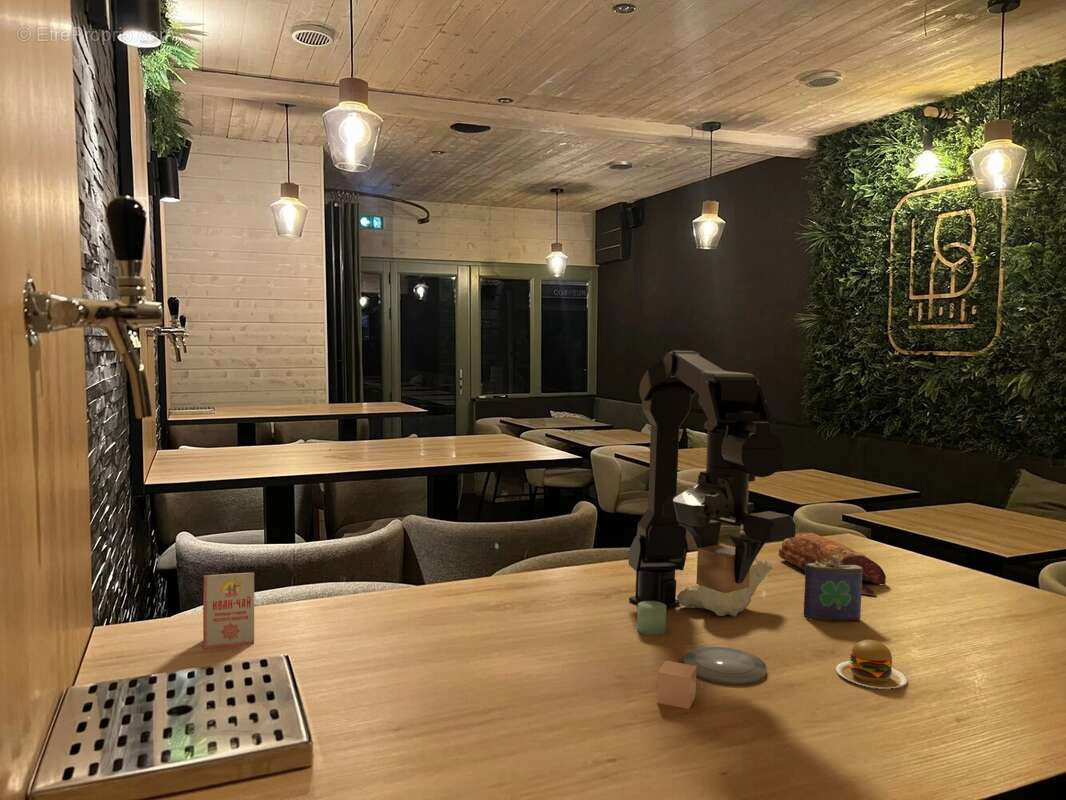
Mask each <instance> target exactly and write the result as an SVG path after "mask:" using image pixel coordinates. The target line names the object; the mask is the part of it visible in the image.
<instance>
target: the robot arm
mask: <svg viewBox="0 0 1066 800" xmlns="http://www.w3.org/2000/svg"><path fill="white" fill-rule="evenodd" d="M638 390H639V398H640V400H641V409H642V412H643V413H644V415H645V417H646V418H647V420H648V422H649V424H650V441H649V444H650V445H649V446H650V447H649V468H648V471H649V473H648V496H647V497H648V498H647V510H646V511H645V513H644V514H643V515H642V516H641V519H640V520H639V521H638V523H637V528H636V529H637V530H636V536H634V539H633V541H632V543H631V545H630V547H629V549H628V551H627V552H628V553H627V558H628V562H627V563H628V565H629V567H631V568H632V570H634V571H635V595H633V596H630V597H628V600H629V601H630V602H632V603H634V604H637V605H638V603H640V602H642V601H656V602H661V603H663V604H665V605H666V608H670V607H673V606H677V605H681V604H680V603H679V601H678V599H676V598H677V595H676V594H677V579H676V571H684V568H685V565H686V561H687V555H688V549H689V543H688V541H687V537H686V536H687V531H688V533H689V534H691V536H692V538H693V540H694V543H695V545H696V549H697V550H698V548H702V547H707V546H713V545H718V544H719V540H720V533H721V526H722V523H725V524H728V525H732V526H736V527H740V528H739V533H738V534H737V533H736V534H731V535H729V538H730V540H731V542H732V543H733V545H734V547H735V582H736V583H738V584H739V583H742V582H743V581H744V579H745V577H746V575H747V573H748V571H749V569H750V567H751V566H752V564H753V563H755V561H756V560H755V558H756V559H757V556H758V554H759V553H760V552H761V550H762V548H763V547H764V546H765V544H766V543H767V542H768V543H771V542H772V543H773V542H777V541H781V540H785V539H787V538H792V537H795V534H796V527H797V526H796V525H797V524H796V521H795V520H794V518H793V517H792V515H790V514H785V513H780V512H776V511H771V510H768V511H762V512H755V513H749V512H754V511H755V503H754V502H749V484H750V482H755V481H756V477H759V478H766V477H770V476H772V475H774V474H775V473H776V472H777V471H779V469H780V468H781V466H782V465H783V463H784V459H785V449H784V446H783V444H782V442H781V440H780V438H779V437H778V436H776V435H775V434H774V433H773V432H771V426H772V419H771V416H772V411H771V408H770V407H769V405H768V403H767V400H766V398H765V395H764V392H763V388H762V386H761V384H760V382H759V380H758V378H757V376H755V375H754V374H753V373H748V372H740V371H739V372H738V371H728V370H724V369H723V368H721V367H720V366H717V365H716V364H714V363H712V362H711V361H710V360H708V359H706V358H705V357H703V356H702V355H701V353H700V352H696V351H695V350H671V351H668V352H666V353H665V356H664V358H663V359H661V360H660V361H658V362H657V363H655V364H654V365H652V366H650V367H649V368H647V370H646V371H645V373H644V375H643V376H642V379H641V380H640V382H639V389H638ZM696 394H698V396H699V397H698V404H699V405H700V407H701V408H702V410H703V412H704V414H705V416H706V418H707V420H706V421H705V422H704V424H703V428H704V429H705V430H706V429H707V433H706V436H707V437H706V439H707V440H706V459H705V460H706V462H705V463H706V464H705V471H699V475H698V476H697V483H696V485H694V486H693V487H689V488H688V489H686V490H684V491H683V492H681V493H680V494H677V493H678V473H679V472H678V470H679V469H678V468H679V467H678V466H679V448H680V447H679V445H680V444H679V443H680V427H681V425H682V424H683V422H684V421H685V419H686V418H687V416H689V414H690V412H691V406H692V405H691V403H692V400H693V399H694V397H695V395H696Z"/></svg>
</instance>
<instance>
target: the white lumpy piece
mask: <svg viewBox="0 0 1066 800" xmlns="http://www.w3.org/2000/svg"><path fill="white" fill-rule="evenodd" d="M755 561H756V562H755ZM773 569H774V568H773V566H772V563H771V562H770V561H767V559H763V560H759V559H758V558H757V557H756V558H755V560H754V562H753V564H752V566H751V567H750V578H749V588H745V589H741V590H737V591H733V592H729V593H722V592H719V591H716V590H713V589H710V588H707V587H704V586H701V585H698V584H694V585H692V586H691V587H690V586H687V587H685V589H684V590H681V591H679V593H678V594H677V595H676V598H677V600H678V601H679V603H680V604H679V605H680V606H682V607H685V608H697V609H706V610H709V611H711V612H713V613H715V614H716V615H717V616H719V617H720V616H721V617H724V616H726V615H730V616H731V617H737V615H738V613H741V612H742V611H744V610H745V609H747V608H748V606H749V605H750V603H751V601H752V598H753V596H754V594H755V593H756V590H757V588H758V587H759V586H760V584H761V583H762V582H763V581H764V579H765V578H766V575H768V574H769V573H770V572H771V571H772V570H773Z"/></svg>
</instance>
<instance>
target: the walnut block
mask: <svg viewBox="0 0 1066 800" xmlns="http://www.w3.org/2000/svg"><path fill="white" fill-rule="evenodd" d="M696 557H697V559H696V584H695V585H701V586H704V587H707V588H710V589H713V590H716V591H719V592H722V593H729V592H733V591H737V590H741V589H745V588H749V578H750V569H749V571H748V573H747V575H746V577H745V579H744V581H743V582H742V583H739V584H738V583H736V582H735V546H731V545H728V544H724V543H718V545H713V546H707V547H702V548H698V549H697V556H696Z"/></svg>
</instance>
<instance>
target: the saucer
mask: <svg viewBox="0 0 1066 800" xmlns="http://www.w3.org/2000/svg"><path fill="white" fill-rule="evenodd" d="M683 659H684V660H683V662H684V663H683V664H688V665H694V666H696V678H697V677H698V678H699V679H703V680H705V681H709V682H712V683H717V684H725V685H749V684H753V683H757V682H760V681H761V680H763V679H764V678H765V677H766V675H767V665H766V663H765V661H764V660H762V659H761V658H760V657H758V656H757V655H756V654H755V655H754V654H753V653H750V652H747V651H744V650H741V649H737V648H732V647H725V646H724V647H722V646H703V647H697V648H694V649H691V650H689V651H687V653H686V654H685V655H684V658H683Z"/></svg>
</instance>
